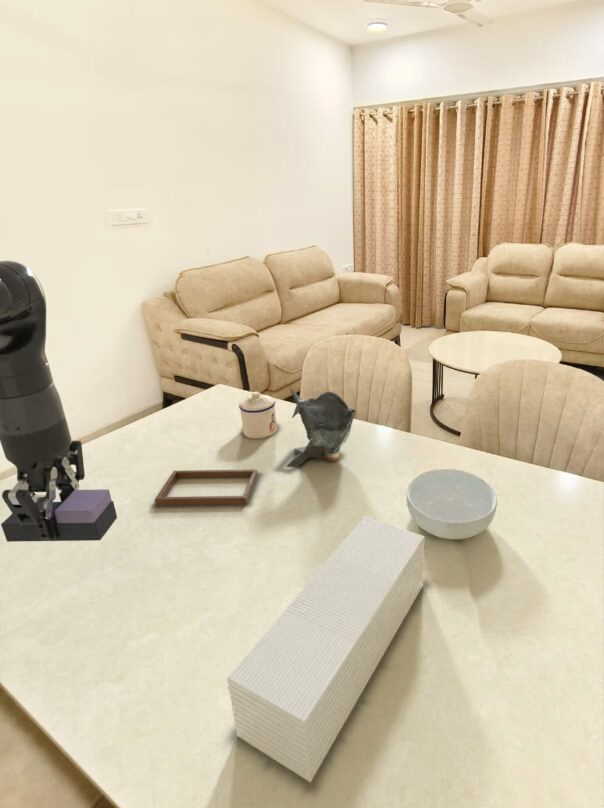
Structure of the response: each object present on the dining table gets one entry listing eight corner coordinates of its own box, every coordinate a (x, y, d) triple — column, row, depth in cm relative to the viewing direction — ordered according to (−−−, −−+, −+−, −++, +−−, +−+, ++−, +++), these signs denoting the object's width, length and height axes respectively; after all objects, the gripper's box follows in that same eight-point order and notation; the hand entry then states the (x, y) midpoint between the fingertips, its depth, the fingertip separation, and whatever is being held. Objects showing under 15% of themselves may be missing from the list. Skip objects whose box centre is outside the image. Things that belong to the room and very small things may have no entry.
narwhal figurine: (341, 483, 110) (337, 410, 103) (278, 472, 114) (271, 401, 108) (362, 451, 122) (360, 384, 116) (305, 442, 127) (300, 377, 120)
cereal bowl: (392, 537, 93) (392, 506, 91) (423, 489, 107) (423, 461, 105) (482, 564, 87) (485, 531, 84) (502, 509, 101) (505, 479, 98)
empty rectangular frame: (156, 509, 102) (154, 499, 101) (175, 480, 112) (173, 470, 111) (247, 508, 102) (246, 497, 101) (258, 478, 112) (257, 469, 111)
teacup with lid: (278, 439, 129) (274, 398, 125) (242, 443, 127) (237, 402, 123) (276, 418, 140) (272, 380, 135) (243, 422, 138) (238, 383, 133)
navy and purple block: (100, 540, 69) (92, 510, 67) (6, 541, 69) (-4, 512, 67) (117, 517, 74) (110, 489, 72) (29, 518, 74) (20, 490, 72)
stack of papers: (310, 787, 56) (304, 722, 52) (237, 740, 60) (226, 677, 56) (423, 589, 82) (424, 536, 78) (366, 567, 86) (364, 516, 82)
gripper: (23, 446, 58) (59, 561, 65) (88, 396, 72) (113, 495, 78) (-41, 447, 58) (2, 562, 65) (36, 396, 72) (65, 496, 78)
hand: (62, 525), depth 71 cm, fingers closed on navy and purple block, 5 cm apart
